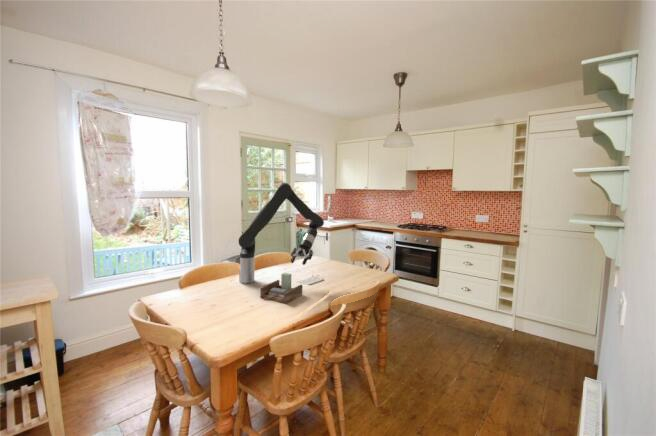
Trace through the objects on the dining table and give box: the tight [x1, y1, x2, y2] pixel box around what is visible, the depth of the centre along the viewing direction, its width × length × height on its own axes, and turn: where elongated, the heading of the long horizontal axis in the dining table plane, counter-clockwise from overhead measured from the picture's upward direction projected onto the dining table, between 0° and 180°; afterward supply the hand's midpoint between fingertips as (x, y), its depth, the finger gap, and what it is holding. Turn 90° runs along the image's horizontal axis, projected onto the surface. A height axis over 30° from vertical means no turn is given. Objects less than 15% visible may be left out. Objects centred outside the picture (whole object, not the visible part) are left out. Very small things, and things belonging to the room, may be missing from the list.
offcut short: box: [270, 288, 287, 296], centre depth 163 cm, size 9×4×2 cm, turn 68°
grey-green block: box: [280, 272, 292, 291], centre depth 168 cm, size 5×3×12 cm, turn 62°
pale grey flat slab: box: [295, 274, 324, 286], centre depth 191 cm, size 31×3×12 cm
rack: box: [259, 279, 303, 305], centre depth 164 cm, size 18×16×7 cm
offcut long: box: [268, 292, 284, 299], centre depth 162 cm, size 12×5×2 cm, turn 62°
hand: (297, 263), depth 177 cm, fingers open, 8 cm apart
